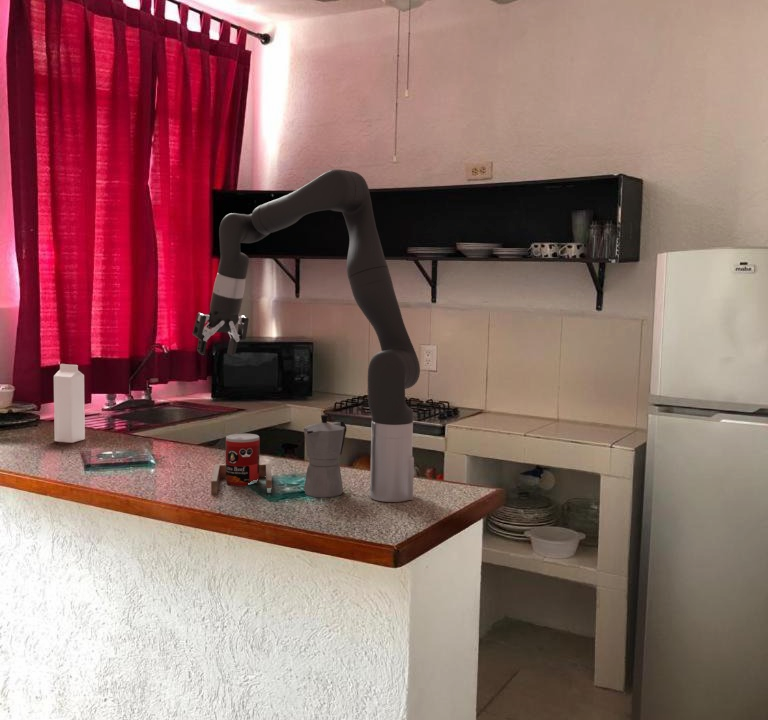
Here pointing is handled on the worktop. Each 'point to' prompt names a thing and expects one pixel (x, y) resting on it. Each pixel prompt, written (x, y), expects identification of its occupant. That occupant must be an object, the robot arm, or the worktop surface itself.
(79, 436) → the milk
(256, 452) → the canned food
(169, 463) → the worktop surface
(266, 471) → the walnut u-shaped block
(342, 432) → the coffeepot
